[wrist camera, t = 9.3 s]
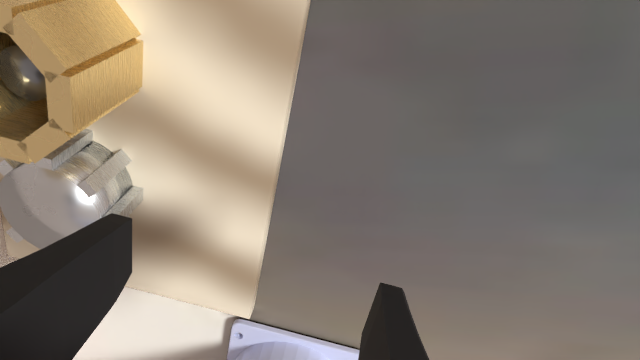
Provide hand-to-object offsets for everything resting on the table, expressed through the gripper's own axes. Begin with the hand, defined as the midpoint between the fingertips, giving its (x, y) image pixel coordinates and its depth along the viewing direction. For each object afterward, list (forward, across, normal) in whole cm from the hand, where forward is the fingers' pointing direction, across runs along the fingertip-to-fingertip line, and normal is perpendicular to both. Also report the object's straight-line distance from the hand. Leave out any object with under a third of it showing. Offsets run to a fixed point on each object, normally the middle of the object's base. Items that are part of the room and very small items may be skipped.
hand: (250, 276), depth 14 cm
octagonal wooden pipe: (+8, +10, -2) cm, 13 cm away
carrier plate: (+9, +8, +1) cm, 12 cm away
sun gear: (+9, +10, +4) cm, 14 cm away
